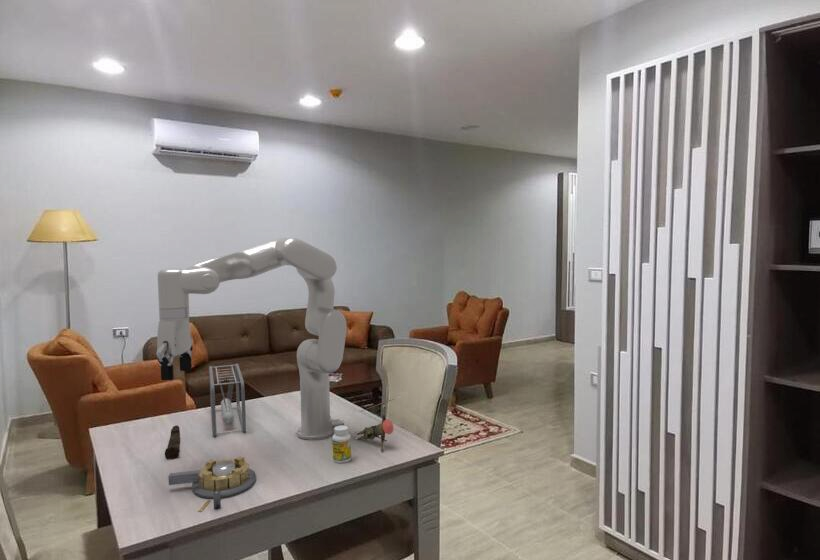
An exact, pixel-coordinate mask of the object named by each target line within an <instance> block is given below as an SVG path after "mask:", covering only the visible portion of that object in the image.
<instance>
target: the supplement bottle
mask: <svg viewBox="0 0 820 560" xmlns="http://www.w3.org/2000/svg"><path fill="white" fill-rule="evenodd" d="M331 439H332V441H331V443H332V446H331V447H332V459H333V461H334V462H335V463H338V464H339V463H340V464H343V463H348V462H349V461H350V460H351V459H352V440H351V434H350V433H349V427H348V426H347V425H344V426H343V425H342V426H336V427H335V428H334V434H333V435H332V438H331Z"/></svg>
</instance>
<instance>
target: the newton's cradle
mask: <svg viewBox="0 0 820 560" xmlns="http://www.w3.org/2000/svg"><path fill="white" fill-rule="evenodd" d="M225 367H231V368H230V370H231V371H230V370H229V371H227V372H228V373H229V372H230V373H229V379H228V380H229V381H228V382H223V383H222V381H223V379H224V378H225V376H224V375H226V376H227V374H226V373H225V374H223V376H224V377H223V376H222V377H220V374H219V373H221V371H219V369H218V368H224V369H222V370H226V368H225ZM234 368H235V370H234ZM214 369H215V375H216V382H217V383H215V381H214V378H215V377H214ZM231 372H232V373H231ZM208 373H209V377H208V378H209V393H210V395H209V397H210V416H211V428H212V437H216V436H217V435H223V434H230V433H237V432H238V433H239V432H243V433H245V432H246V431H247V421H246V419H247V417H246V395H245V394H246V391H245V390H246V389H245V380H244V378H243V374H242V371H241V369H240V365H239V363H235V364H228V365H218V366H212V365H210V366H209V367H208ZM221 378H223V379H221ZM232 379H234V380H232ZM222 385H228V388H227V390H229V391H231V392H227V393H226V396H227V397H225V394H224V390H223V386H222ZM230 385H232V386H234V385H235V394H236V396H235V397H236V400H235V401H236V407H233V405H232V400H231V399H232V396H233V394H232V393H233V391H234V388H233V387H232V386H230ZM215 386H219V387H220V391H221V395H222V400H221V402H220V409H216V396H215V395H216V392H215ZM240 393H241V395H240ZM228 397H229V398H228ZM240 397H241V401H240ZM240 402H241V404H240ZM234 409H235V410H236V409H237V413H238V418H239V422H240V426H241V429H239V430H238V429H237V430H231V431H223V432H218V433H217V416H216V415H217V414H216V412H218V411H219V412H220V411H221V416H222V421H223V422H224V423H226V424H227V423H228V424H229V423H231V422H233V421H234V419H235V415H234Z"/></svg>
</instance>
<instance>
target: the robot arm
mask: <svg viewBox="0 0 820 560" xmlns="http://www.w3.org/2000/svg"><path fill="white" fill-rule="evenodd" d="M284 266H291V267H294V268H295V269H296V271H297V273H298V274H299V276H301V277H302V278H303V280H304V281H305V283H306V285H307V289H308V290H307V291H308V298H307V304H306V311H305V313H306V314H305V320H304V325H305V329H306V330H307V332H308V333H309V334H311V335H314V336H317V337H318V339H317V338H316V339H315V338H309V339H306V340H303V341H302V342H301V343H300V344H299V346H298V347H297V350H296V362H297V367H298V374H299V385H300V388H299V389H300V390H299V391H300V396H299V397H300V420H301V422H300V423H301V424H300V425H301V426H300V427H299V428H297V430H296V436H297V437H298V438H300V439H304V440H310V441H312V440H314V441H315V440H322V439H327V438H329V437H331V436H333V435H334V434H335V433H334V428H335V427H336V426H342V425H343V426H345V420H341V419H340V418H334V419H333V418H332V416H331V402H330V401H331V399H330V376H329V374H332V373H335V372H336V371H337V370H338V369H339V368H340V366H341V364H342V362H343V358H344V353H345V352H344V351H345V344H346V336H347V331H348V330H347V326H348V325H347V320H346V318H345V316H344V314H343V313H342V312H341V311H340V310H338V309H334V308H335V307H334V305H335V294H336V293H335V285H334V282H333V279H332V278H333V277H334V276H335V274H336V272H337V263H336V260H335V258H334V257H333V256H332V255H331V254H329V253H327V252H325V251H324V250H322V249H320V248H317V247H315V246H314V245H312V244H310V243H308V242H306V241H304V240H301V239H299V238H297V237H279V238H275V239H272V240H270V241H267V242H264V243H259V244H258V245H255V246H251V247H249V248H245V249H243V250H240V251H235V252H231V253H230V254H227V255H223V256H219V257H216V258H212V259H209V260H206V261H203V262H200V263H197V264H194V265H192V266H189V267H187V268H186V269H183V268H164V269H160V270H159V271H158V273H157V293H158V315H159V316H158V318H159V321H158V326H157V340H156V341H157V347H156V348H157V350H156V357H157V362H158V363H159V364H158V365H159V367H160V378H161V379H160V380H162V381H173V380H175V376H174V375H175V374H174V365H173V361H174V358H175V357H178V356H179V357H178V358H179V359H178V360H179V370H180V371H181V372H191V371H192V366H193V365H192V356H193V353H192V352H193V344H194V339H193V338H192V336H191V335H192V334H191V325H190V301H189V299H190V298H189V296H190V295H191V294H192V295H193V294H194V295H207V294H211V293H214V292H216V291H217V289H218V288H219V286H220V283H223V282H226V281H232V280H234V281H235V280H244V279H250V278H255V277H257V276H259V275H263V274H265V273H267V272H270V271H273V270H275V269H278V268H281V267H284ZM189 294H190V295H189Z"/></svg>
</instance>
